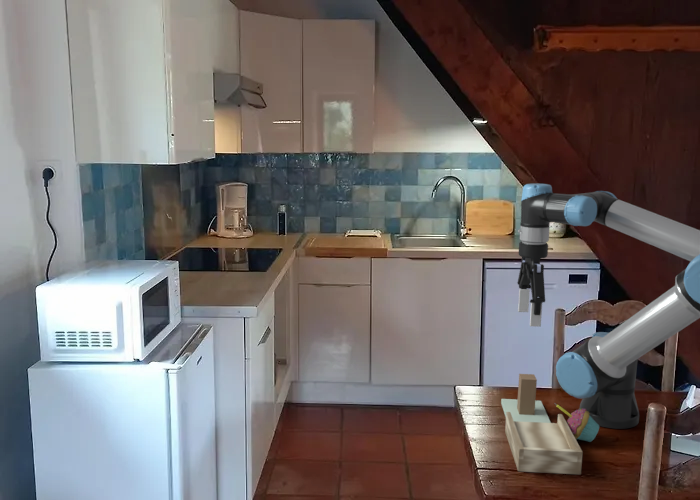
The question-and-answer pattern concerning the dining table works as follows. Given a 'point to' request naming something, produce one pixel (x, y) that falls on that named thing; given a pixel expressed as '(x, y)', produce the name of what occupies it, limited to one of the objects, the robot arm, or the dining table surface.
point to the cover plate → (525, 418)
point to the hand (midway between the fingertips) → (528, 318)
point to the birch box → (543, 446)
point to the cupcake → (581, 424)
